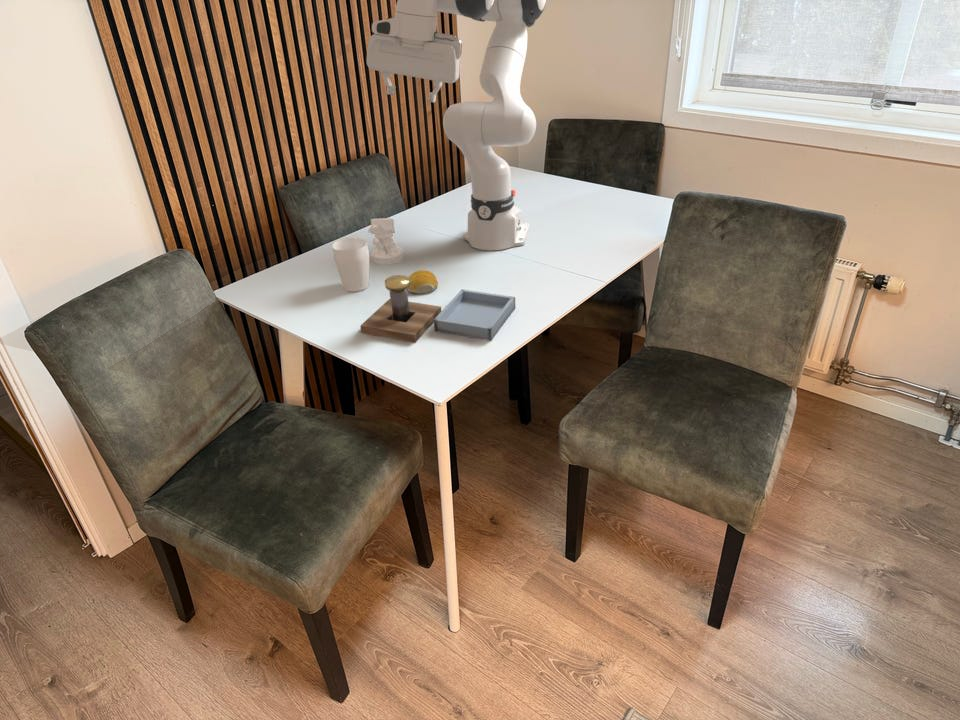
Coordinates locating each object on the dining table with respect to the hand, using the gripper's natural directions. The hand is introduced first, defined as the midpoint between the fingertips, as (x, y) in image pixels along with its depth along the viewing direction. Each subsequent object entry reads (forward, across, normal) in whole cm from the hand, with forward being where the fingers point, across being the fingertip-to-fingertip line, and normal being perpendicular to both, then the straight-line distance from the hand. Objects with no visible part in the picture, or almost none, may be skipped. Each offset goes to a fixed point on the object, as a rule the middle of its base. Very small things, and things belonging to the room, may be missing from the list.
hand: (411, 98), depth 147 cm
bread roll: (+47, -5, -4) cm, 47 cm away
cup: (+50, +12, -1) cm, 51 cm away
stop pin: (+47, -7, +16) cm, 50 cm away
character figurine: (+48, +10, -20) cm, 53 cm away
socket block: (+47, -7, +16) cm, 50 cm away
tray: (+44, -23, +11) cm, 51 cm away
